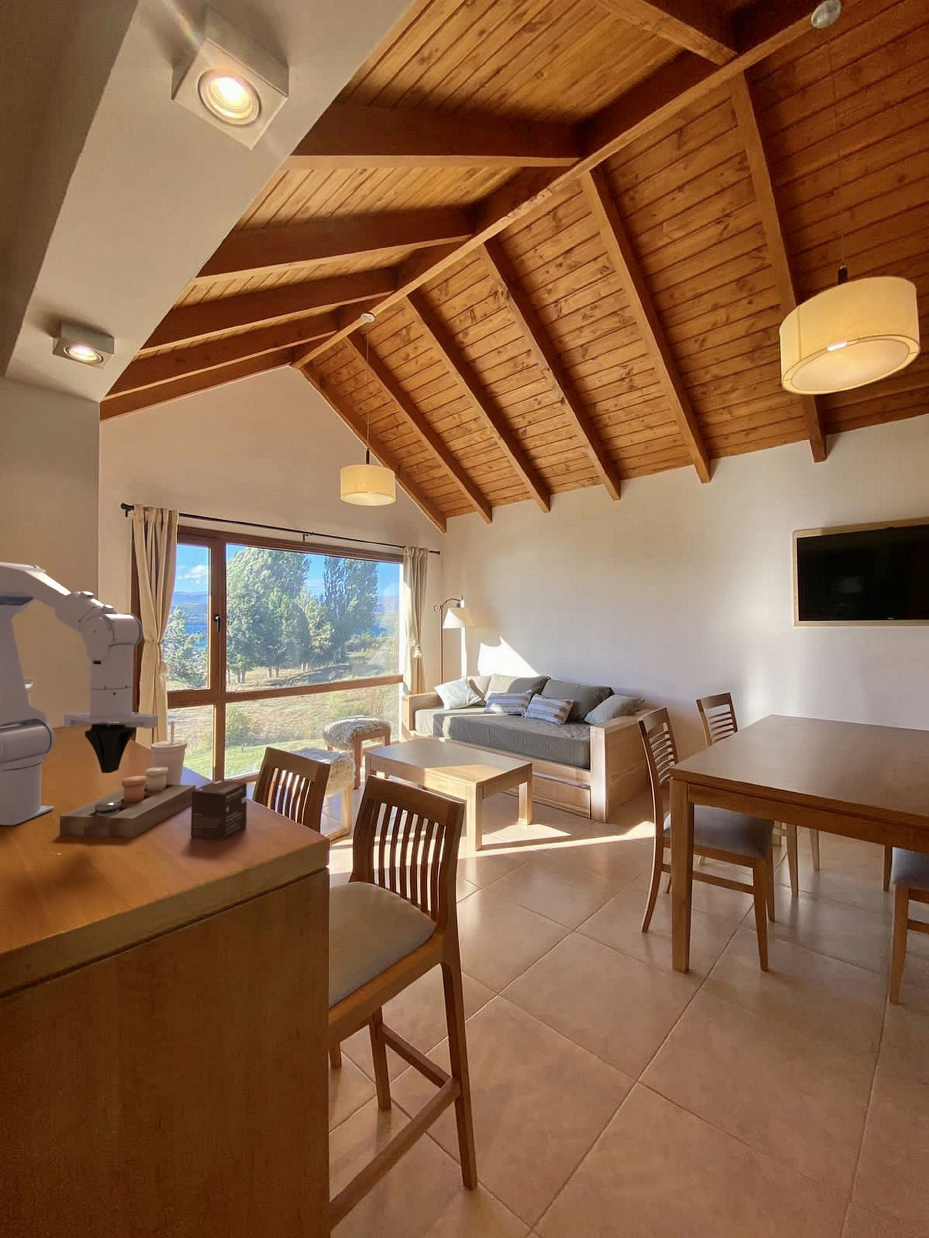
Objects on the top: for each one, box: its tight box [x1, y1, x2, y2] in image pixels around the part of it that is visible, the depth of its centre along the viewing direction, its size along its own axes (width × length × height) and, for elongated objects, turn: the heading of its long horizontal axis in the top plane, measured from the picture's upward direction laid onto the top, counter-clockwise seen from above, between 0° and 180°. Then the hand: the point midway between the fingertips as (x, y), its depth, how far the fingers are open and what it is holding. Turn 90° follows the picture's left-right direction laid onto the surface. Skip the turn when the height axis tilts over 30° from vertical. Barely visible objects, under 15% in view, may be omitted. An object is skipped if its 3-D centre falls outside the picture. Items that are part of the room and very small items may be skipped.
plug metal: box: [95, 800, 122, 816], centre depth 84 cm, size 4×4×4 cm
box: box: [190, 780, 248, 841], centre depth 84 cm, size 6×6×7 cm
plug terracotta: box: [121, 775, 147, 803], centre depth 90 cm, size 4×4×4 cm
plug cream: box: [144, 766, 168, 792], centre depth 96 cm, size 4×4×4 cm
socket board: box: [59, 783, 197, 839], centre depth 90 cm, size 12×17×3 cm
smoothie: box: [150, 720, 189, 785], centre depth 103 cm, size 6×6×14 cm
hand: (110, 771), depth 84 cm, fingers closed
